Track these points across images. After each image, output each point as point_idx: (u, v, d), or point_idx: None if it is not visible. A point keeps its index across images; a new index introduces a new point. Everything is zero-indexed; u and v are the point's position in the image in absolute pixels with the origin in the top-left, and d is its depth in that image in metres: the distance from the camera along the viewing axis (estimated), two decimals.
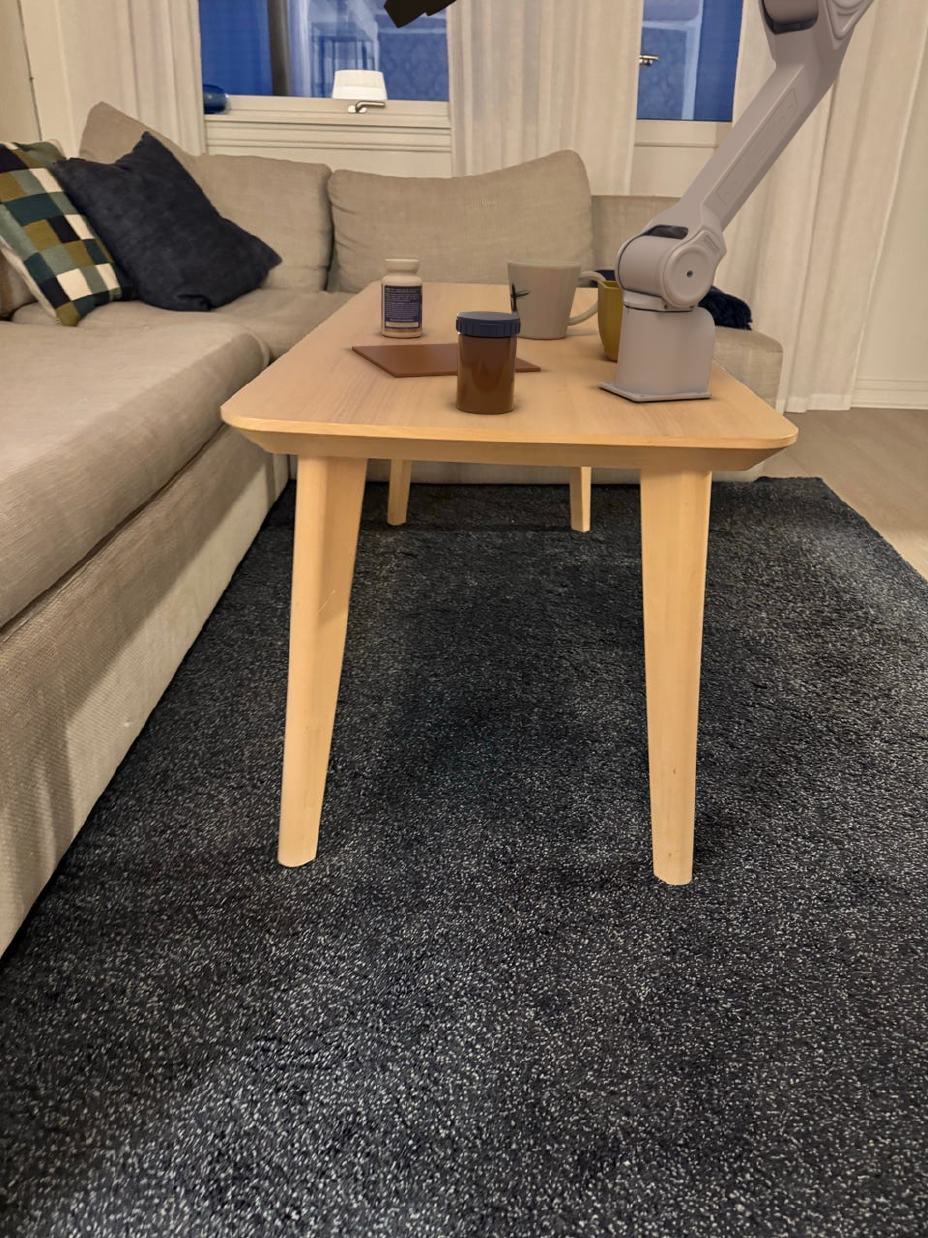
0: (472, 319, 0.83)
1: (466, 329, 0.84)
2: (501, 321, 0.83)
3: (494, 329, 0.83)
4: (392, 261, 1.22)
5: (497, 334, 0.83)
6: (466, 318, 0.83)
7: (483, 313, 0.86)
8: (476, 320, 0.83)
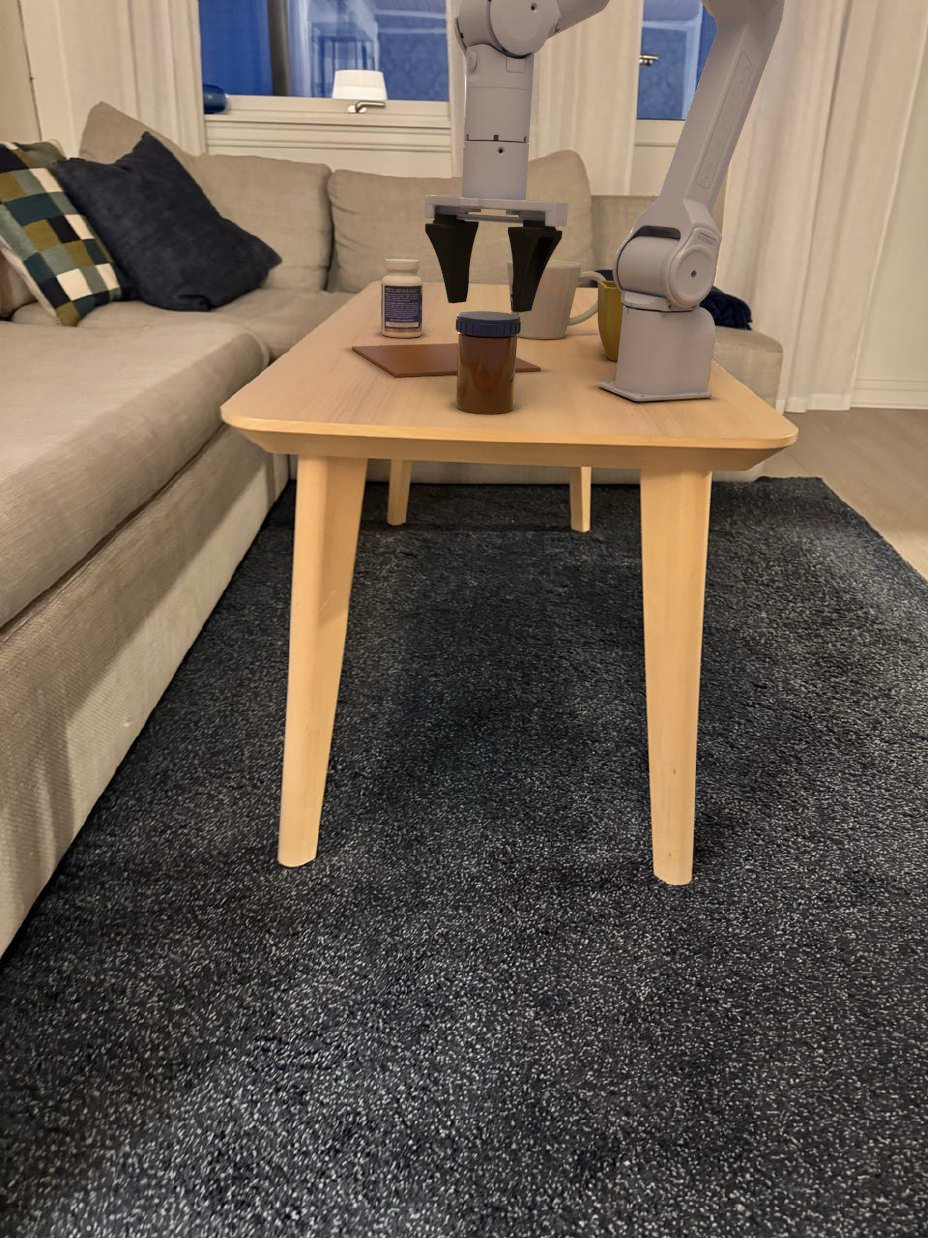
0: (472, 319, 0.83)
1: (466, 329, 0.84)
2: (501, 321, 0.83)
3: (494, 329, 0.83)
4: (392, 261, 1.22)
5: (497, 334, 0.83)
6: (466, 318, 0.83)
7: (483, 313, 0.86)
8: (476, 320, 0.83)
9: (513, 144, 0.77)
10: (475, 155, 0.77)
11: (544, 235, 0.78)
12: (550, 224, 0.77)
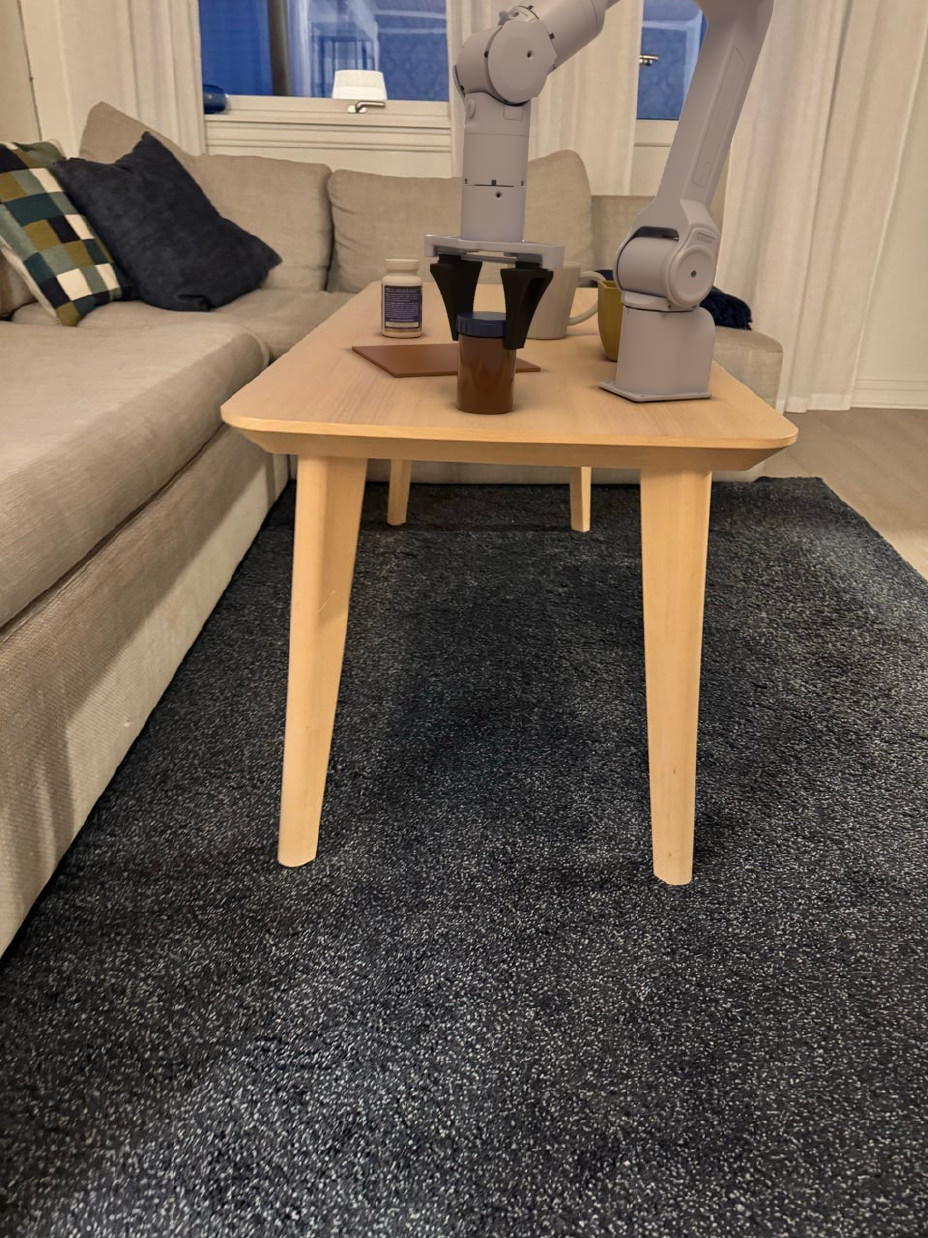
0: (472, 319, 0.83)
1: (466, 329, 0.84)
2: (501, 321, 0.83)
3: (494, 329, 0.83)
4: (392, 261, 1.22)
5: (497, 334, 0.83)
6: (466, 318, 0.83)
7: (483, 313, 0.86)
8: (476, 320, 0.83)
9: (511, 189, 0.78)
10: (473, 199, 0.79)
11: (536, 276, 0.80)
12: (547, 267, 0.79)
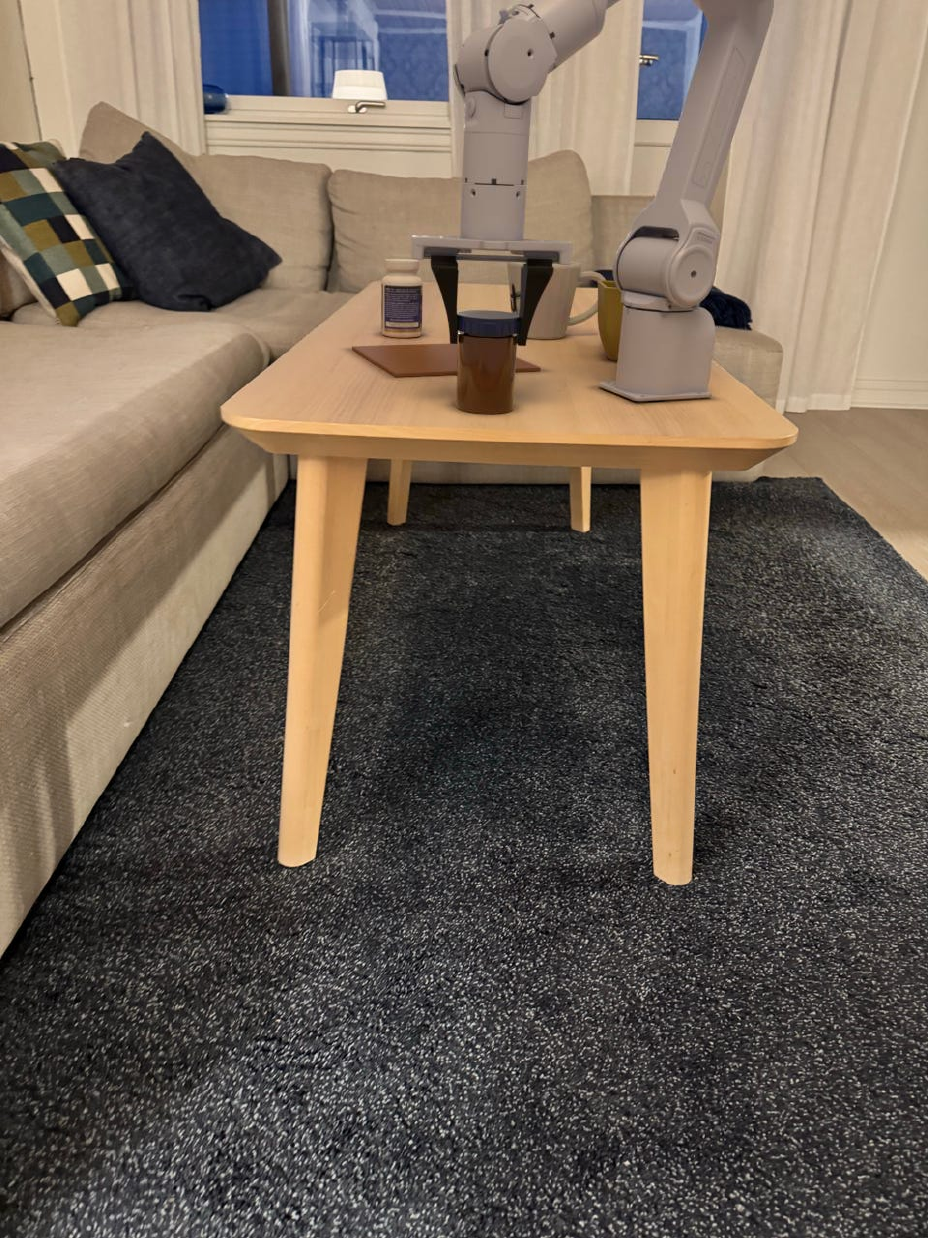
0: (494, 319, 0.83)
1: (486, 330, 0.83)
2: (517, 319, 0.84)
3: (513, 327, 0.84)
4: (392, 261, 1.22)
5: (515, 332, 0.84)
6: (486, 319, 0.83)
7: (476, 313, 0.86)
8: (499, 320, 0.83)
9: (525, 188, 0.80)
10: (495, 199, 0.78)
11: None
12: (566, 263, 0.83)
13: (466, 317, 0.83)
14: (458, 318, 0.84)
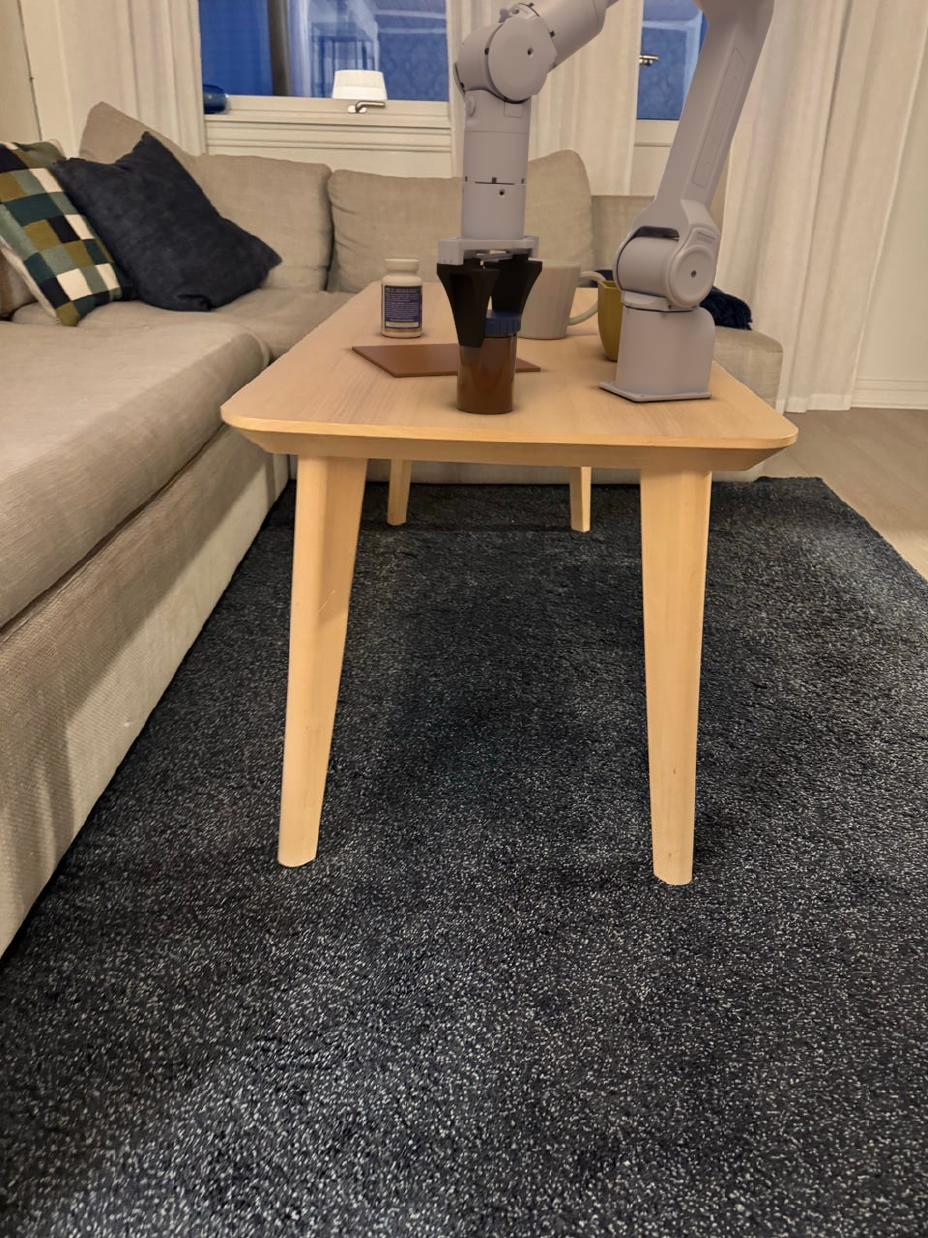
0: (517, 317, 0.84)
1: (513, 328, 0.84)
2: (516, 313, 0.86)
3: None
4: (392, 261, 1.22)
5: None
6: (513, 317, 0.84)
7: None
8: (519, 317, 0.84)
9: None
10: (521, 198, 0.79)
11: None
12: (536, 255, 0.88)
13: (495, 318, 0.83)
14: None
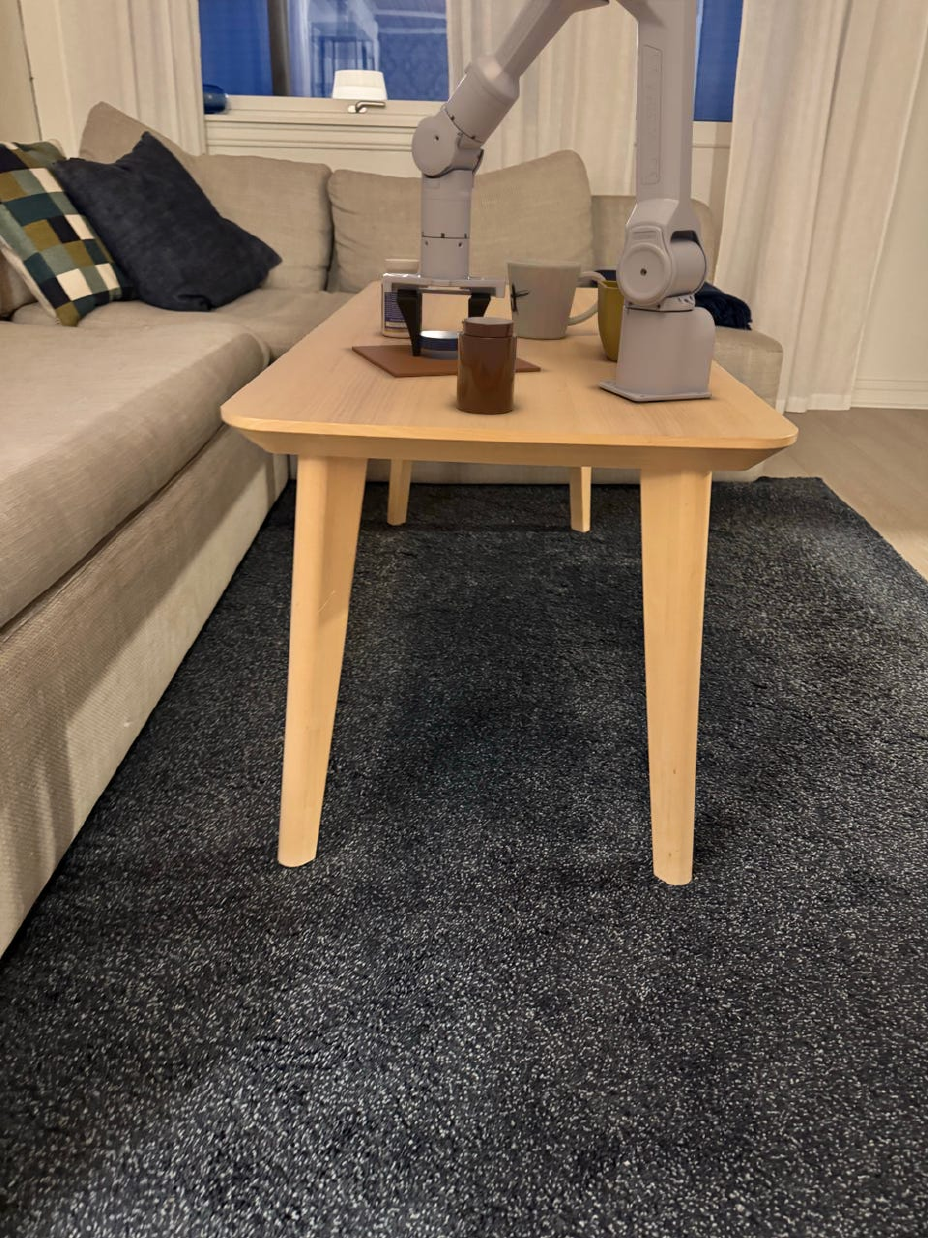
0: (443, 339, 1.08)
1: (437, 347, 1.08)
2: None
3: None
4: (392, 261, 1.22)
5: None
6: (437, 338, 1.08)
7: (434, 333, 1.11)
8: (447, 339, 1.08)
9: (467, 239, 1.04)
10: (442, 248, 1.03)
11: None
12: (501, 296, 1.07)
13: (423, 336, 1.09)
14: (419, 337, 1.10)
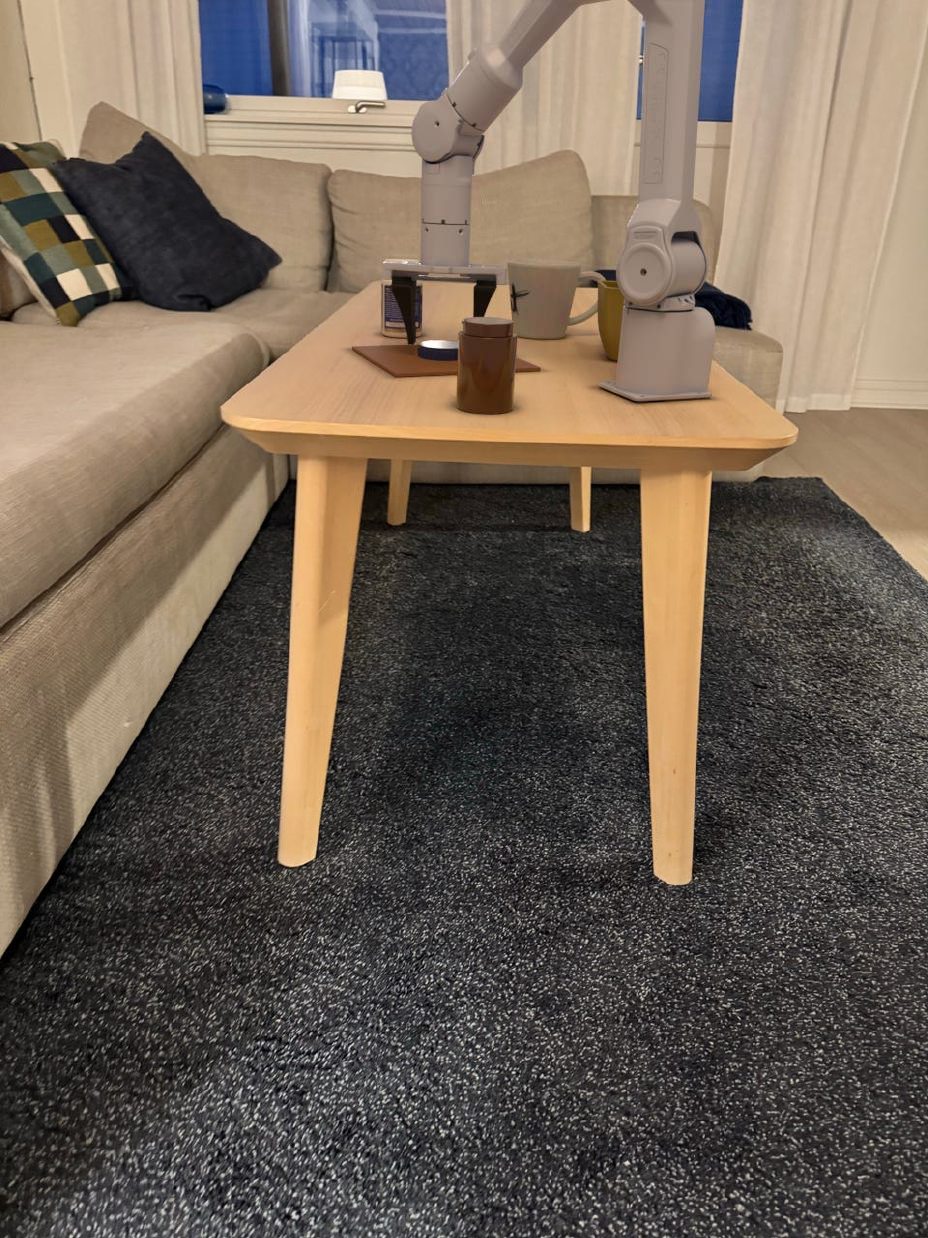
0: (443, 349, 1.08)
1: (436, 357, 1.09)
2: None
3: None
4: None
5: None
6: (437, 348, 1.08)
7: (434, 342, 1.11)
8: (446, 349, 1.08)
9: (467, 226, 1.04)
10: (442, 235, 1.03)
11: None
12: (501, 283, 1.06)
13: (423, 346, 1.09)
14: (418, 347, 1.10)
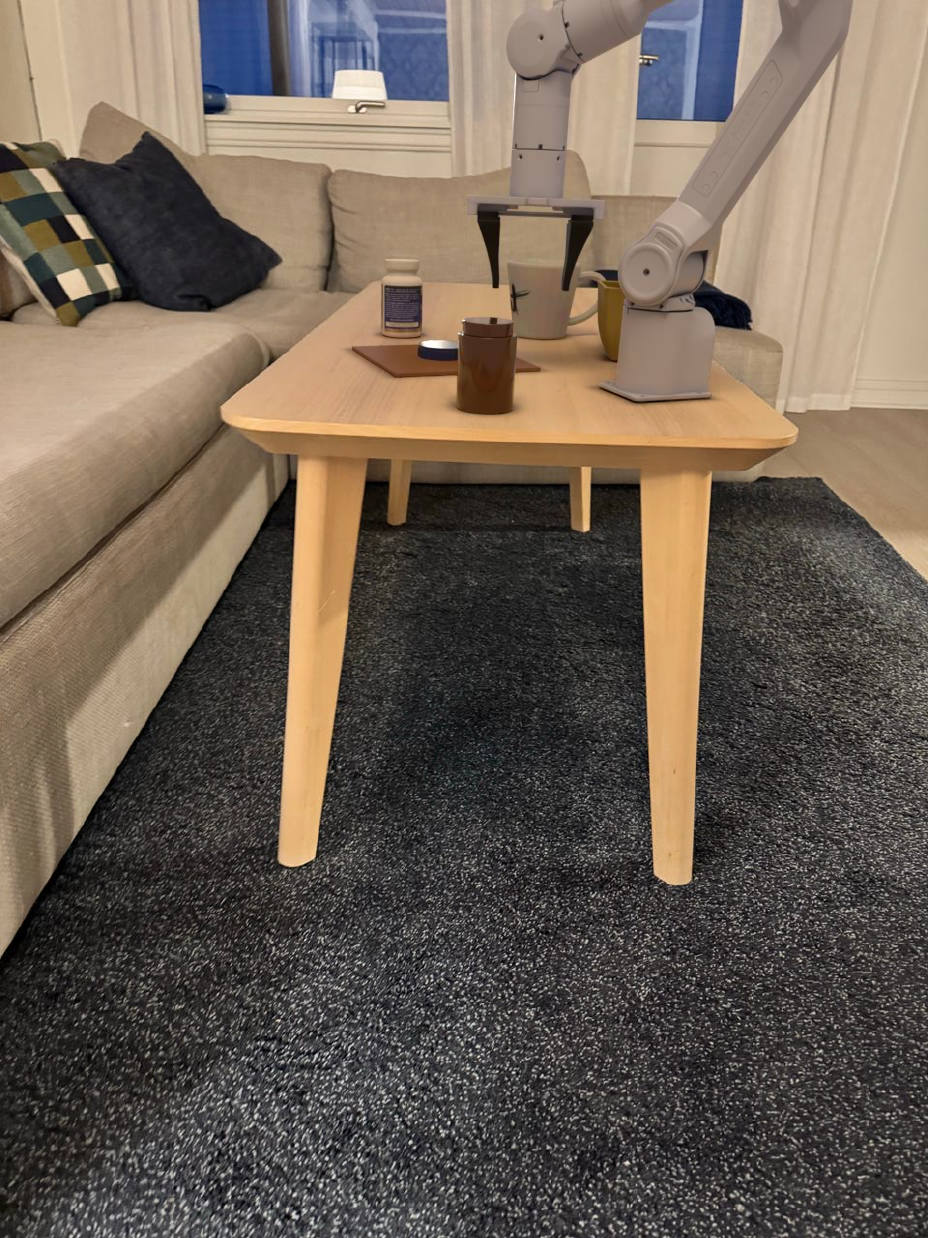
0: (443, 349, 1.08)
1: (436, 357, 1.09)
2: None
3: None
4: (392, 261, 1.22)
5: None
6: (437, 348, 1.08)
7: (434, 342, 1.11)
8: (446, 349, 1.08)
9: (564, 153, 0.93)
10: (539, 161, 0.92)
11: None
12: (599, 218, 0.96)
13: (423, 346, 1.09)
14: (418, 347, 1.10)
